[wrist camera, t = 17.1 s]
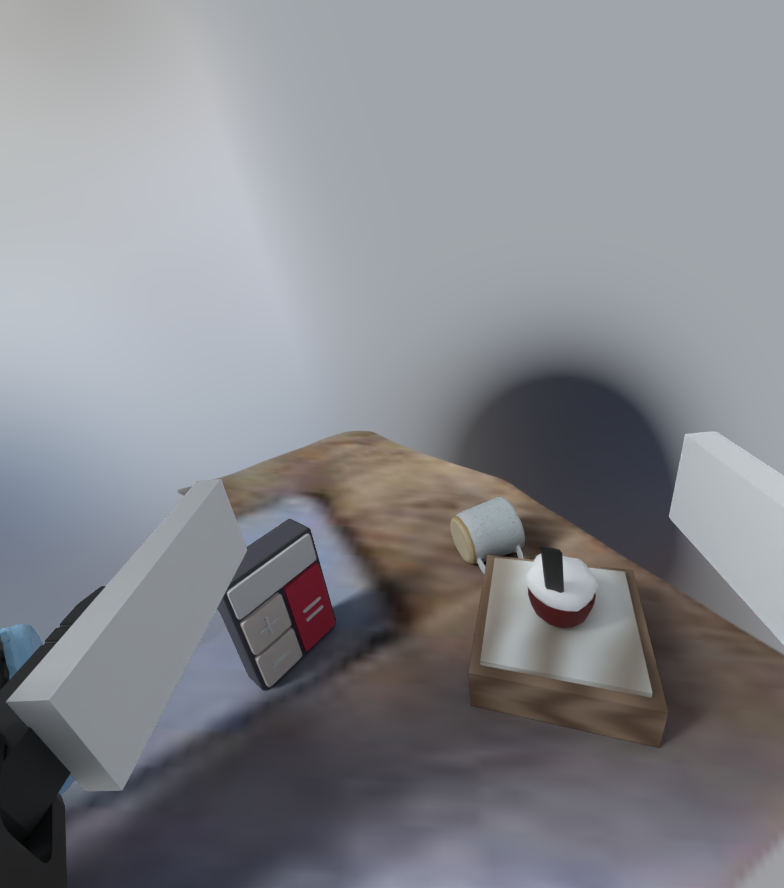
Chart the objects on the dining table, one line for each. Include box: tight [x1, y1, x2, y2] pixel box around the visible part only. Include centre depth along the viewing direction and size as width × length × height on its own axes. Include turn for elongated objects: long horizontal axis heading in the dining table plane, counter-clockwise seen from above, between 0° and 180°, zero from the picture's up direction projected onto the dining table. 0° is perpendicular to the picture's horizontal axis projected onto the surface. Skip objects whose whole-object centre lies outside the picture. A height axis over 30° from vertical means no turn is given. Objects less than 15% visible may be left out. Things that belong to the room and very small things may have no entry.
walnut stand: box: [468, 555, 669, 748], centre depth 44 cm, size 16×16×6 cm
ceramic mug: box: [450, 497, 525, 573], centre depth 57 cm, size 11×8×8 cm
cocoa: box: [525, 546, 599, 628], centre depth 40 cm, size 10×6×12 cm, turn 126°
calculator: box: [217, 519, 336, 690], centre depth 46 cm, size 11×4×15 cm, turn 140°
